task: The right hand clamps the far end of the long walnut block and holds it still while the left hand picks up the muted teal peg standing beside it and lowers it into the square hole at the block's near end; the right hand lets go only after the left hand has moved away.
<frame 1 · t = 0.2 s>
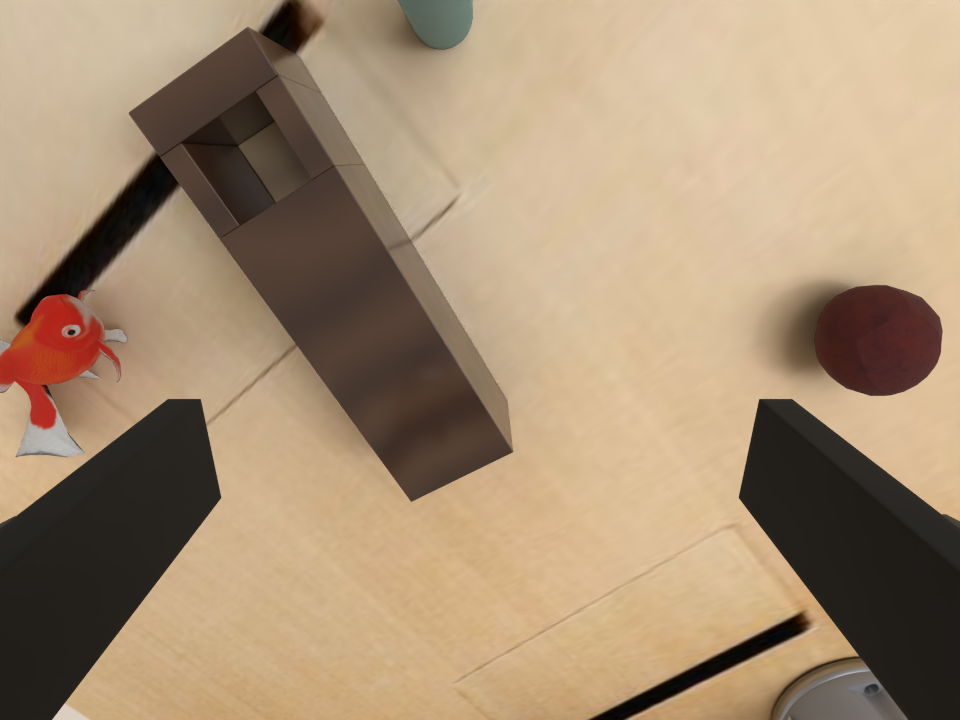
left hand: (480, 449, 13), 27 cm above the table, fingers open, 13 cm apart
fish: (87, 361, 41), on the table
teal peg: (440, 12, 33), on the table
walnut block: (369, 274, 39), on the table
dark maroon ball: (841, 323, 40), on the table
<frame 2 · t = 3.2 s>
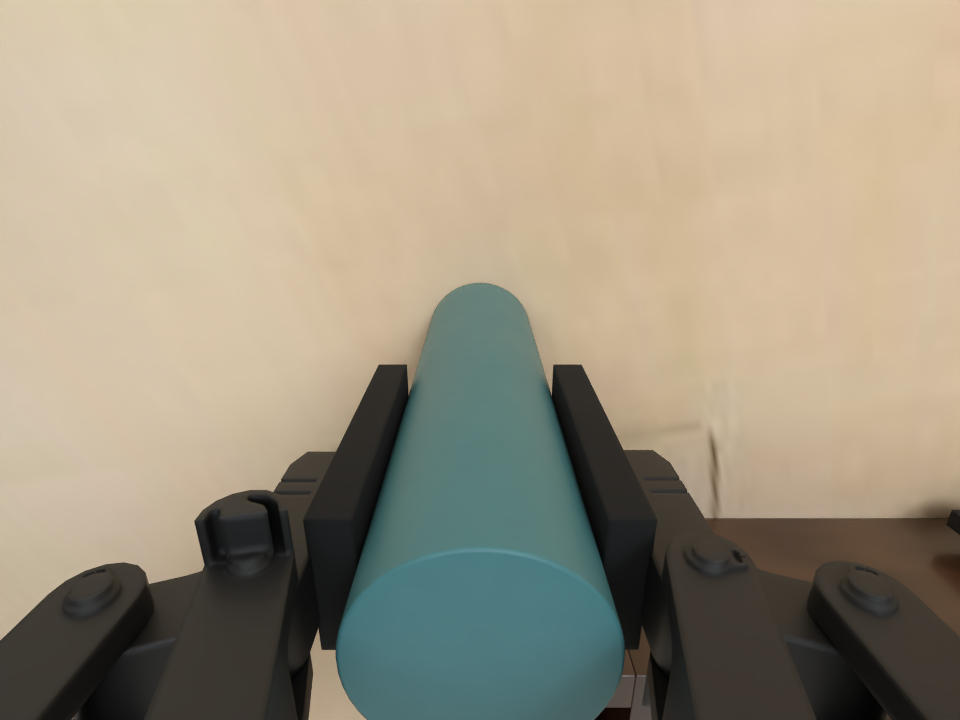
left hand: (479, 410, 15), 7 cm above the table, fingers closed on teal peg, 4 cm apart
teal peg: (480, 331, 21), on the table, touching left hand
walnut block: (714, 585, 26), on the table
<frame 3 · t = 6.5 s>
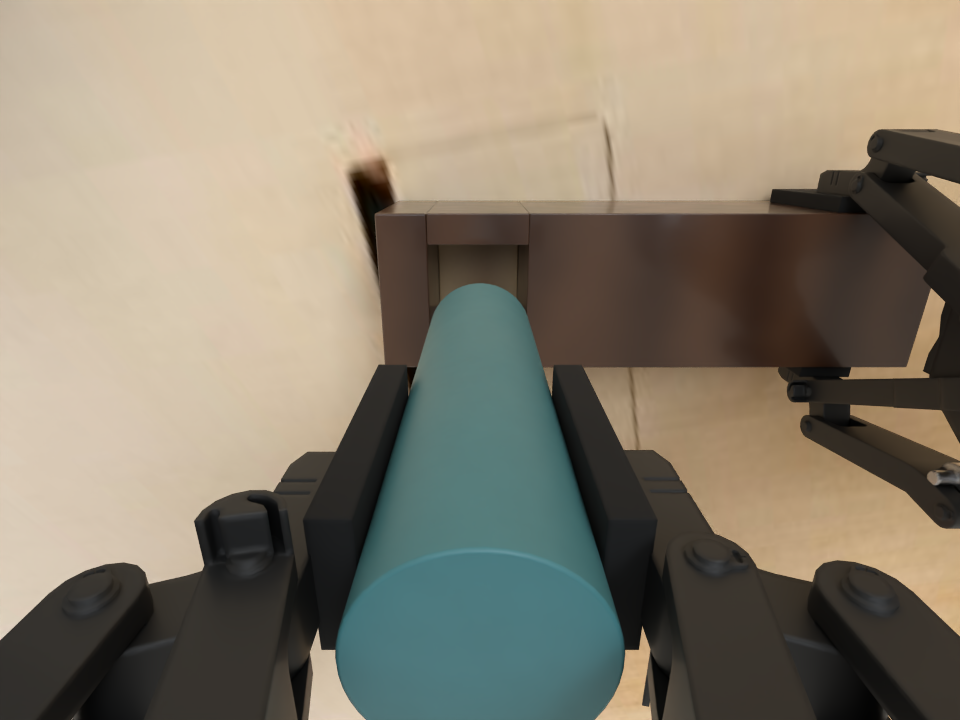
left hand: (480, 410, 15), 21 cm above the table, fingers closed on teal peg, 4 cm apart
right hand: (779, 268, 33), fingers closed on walnut block, 8 cm apart
teal peg: (480, 331, 21), point 14 cm above the table, touching left hand
walnut block: (616, 264, 34), on the table, touching right hand
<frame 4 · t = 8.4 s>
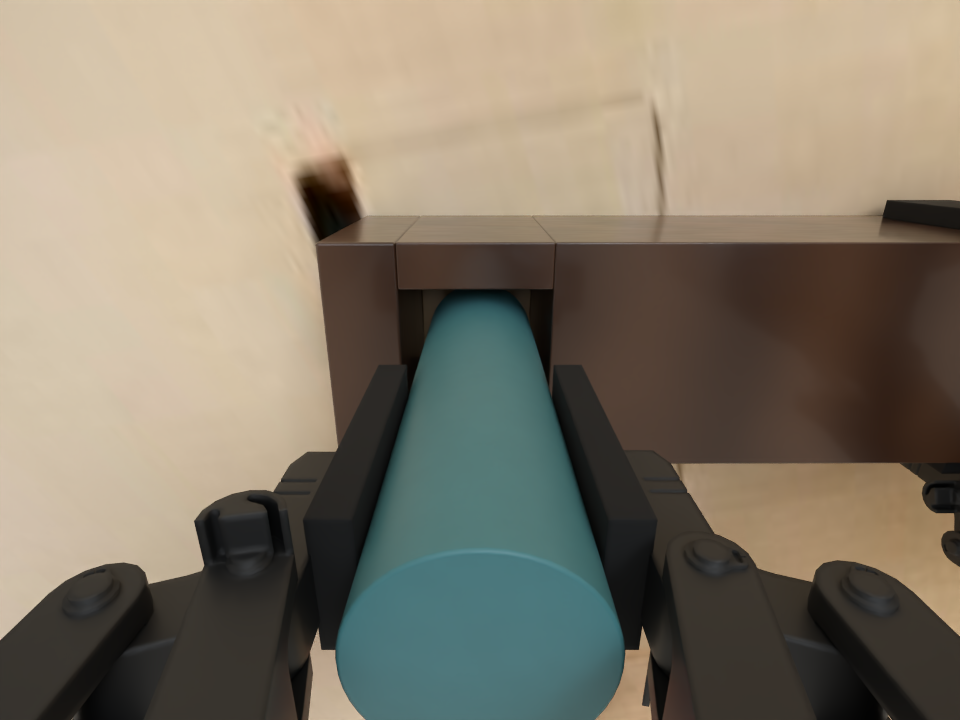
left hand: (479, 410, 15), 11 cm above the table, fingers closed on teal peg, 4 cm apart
teal peg: (480, 331, 21), point 4 cm above the table, touching left hand
walnut block: (663, 301, 25), on the table, touching right hand
when the left hand's fingers open (10 cm above the table, at t = 9.6 s): teal peg drops 1 cm, resting on walnut block.
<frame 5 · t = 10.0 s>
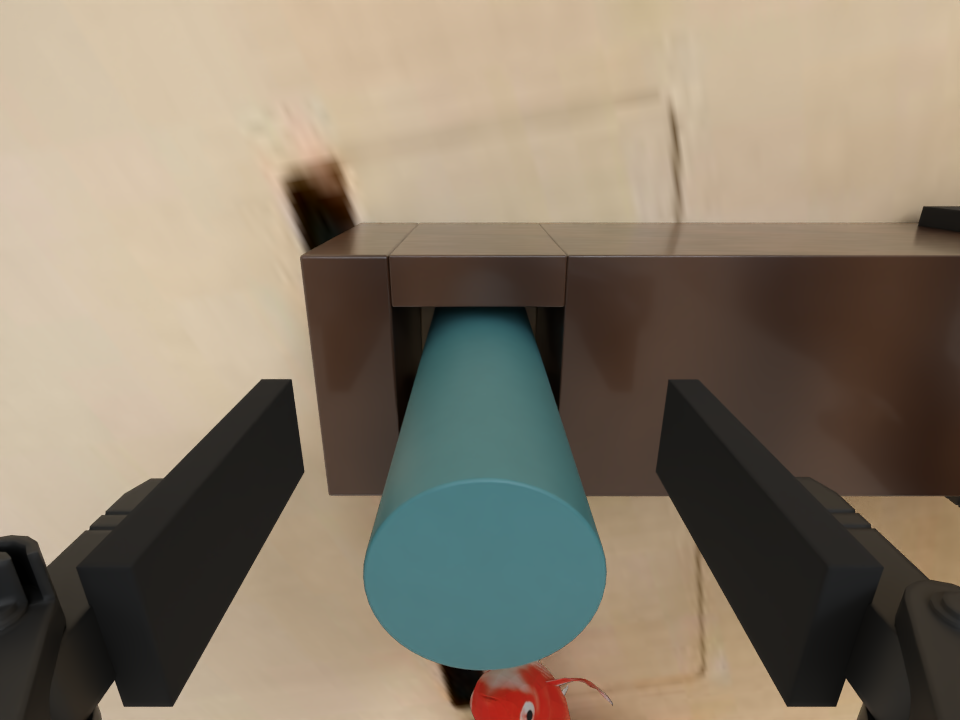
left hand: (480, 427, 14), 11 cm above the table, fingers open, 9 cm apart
fish: (542, 681, 32), on the table
teal peg: (480, 320, 23), point 1 cm above the table, touching walnut block
walnut block: (679, 314, 24), on the table, touching right hand, teal peg
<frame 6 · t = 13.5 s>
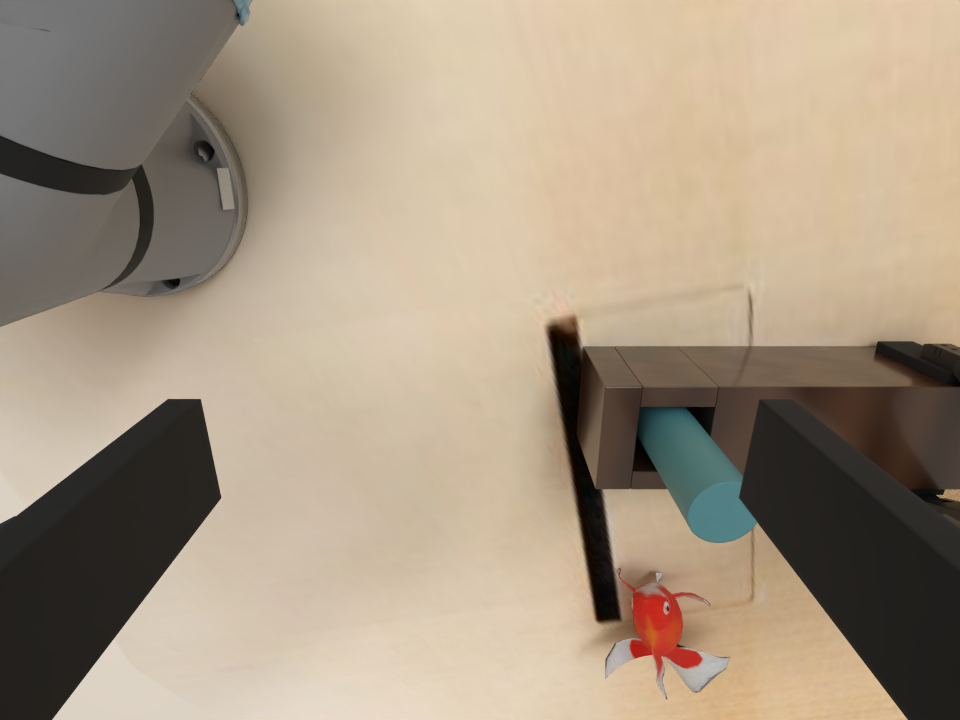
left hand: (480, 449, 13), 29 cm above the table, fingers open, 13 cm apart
fish: (653, 604, 52), on the table
teal peg: (644, 397, 43), point 1 cm above the table, touching walnut block
walnut block: (748, 391, 44), on the table, touching teal peg
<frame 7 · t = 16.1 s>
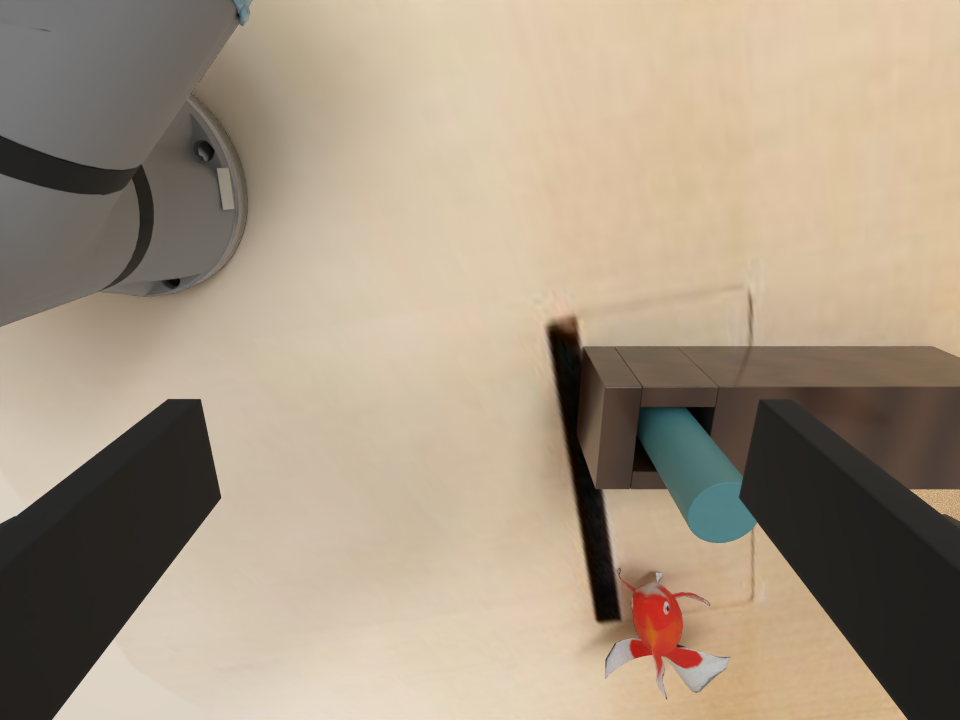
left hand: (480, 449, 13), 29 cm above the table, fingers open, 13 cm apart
fish: (653, 604, 52), on the table
teal peg: (644, 396, 43), point 1 cm above the table, touching walnut block
walnut block: (748, 391, 44), on the table, touching teal peg
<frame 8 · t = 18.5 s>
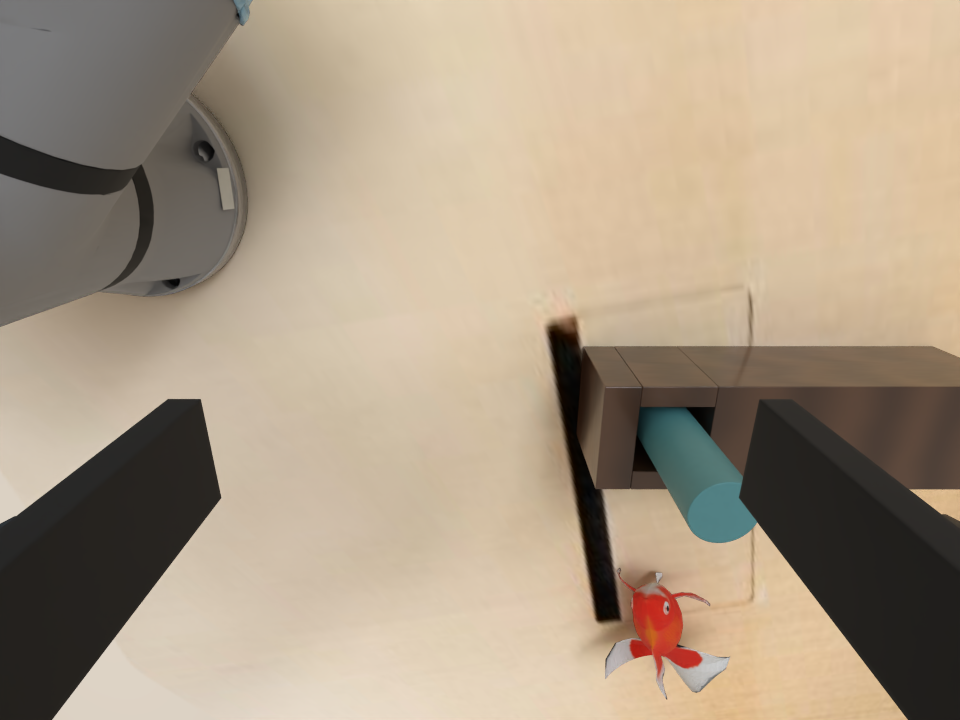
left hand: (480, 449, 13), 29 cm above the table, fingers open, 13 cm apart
fish: (653, 604, 52), on the table
teal peg: (644, 396, 43), point 1 cm above the table, touching walnut block
walnut block: (748, 391, 44), on the table, touching teal peg
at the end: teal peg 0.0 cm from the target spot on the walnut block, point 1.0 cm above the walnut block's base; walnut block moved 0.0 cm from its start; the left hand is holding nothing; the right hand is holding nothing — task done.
